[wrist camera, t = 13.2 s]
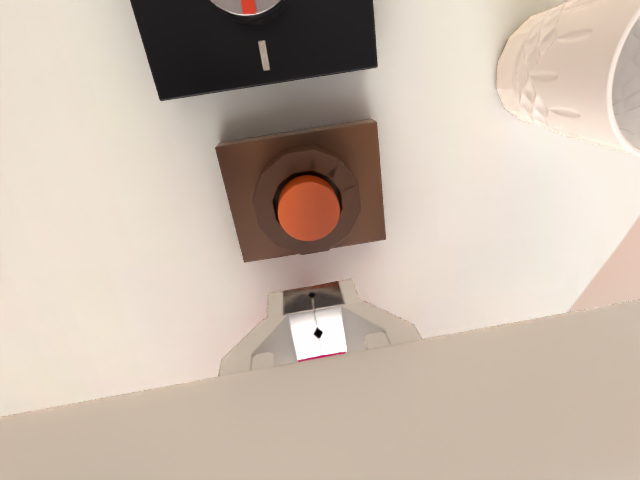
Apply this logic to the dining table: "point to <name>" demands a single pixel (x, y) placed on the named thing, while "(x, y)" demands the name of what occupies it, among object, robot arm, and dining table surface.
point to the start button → (308, 208)
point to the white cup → (577, 72)
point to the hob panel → (252, 44)
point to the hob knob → (251, 10)
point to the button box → (296, 160)
